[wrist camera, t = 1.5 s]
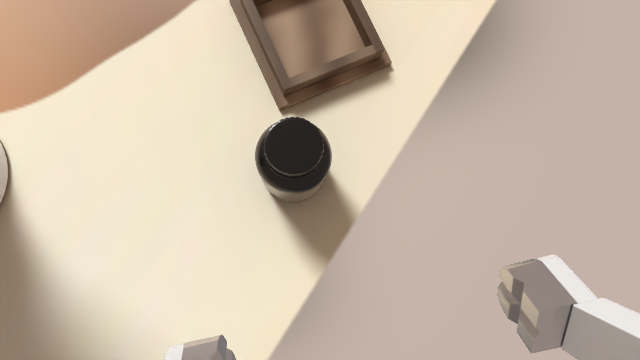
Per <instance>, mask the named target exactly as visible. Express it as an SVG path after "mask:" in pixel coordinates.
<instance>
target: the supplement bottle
mask: <svg viewBox="0 0 640 360" xmlns="http://www.w3.org/2000/svg"><path fill="white" fill-rule="evenodd" d="M331 159H332V153H331V147H330V144H329V142H328V139H327V138H326V136H325V135H324V133H323V132H322V131H321V130H320V129H319V128H318V127H317V126H315V125H314V124H312V123H310V122H309V121H307V120H305V119H304V118H299V117H296V118H295V117H291V118H285V119H281V120H280V121H279V122H276V123H274V124H273V125H271V126H270V127H269V128H267V129H266V130H265V132H264V133H263V134H262V135H261V137H260V139H259V141H258V143H257V146H256V151H255V161H256V166H257V169H258V172H259V174H260V176H261V178H262V180H263V182H264V184H265V186H266V187H267V189H268V190H269V191H270V192H271V193H272V194H273V195H274V196H275V197H277V198H279V199H281V200H284V201H288V202H299V201H303V200H306V199H308V198H310V197H311V196H313V195H314V194H315V193H316V192H317V191H318V190H319V188H320V187H321V185H322V183H323V181H324V179H325V178H326V176H327V174H328V172H329V169H330V166H331Z"/></svg>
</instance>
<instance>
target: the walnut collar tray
mask: <svg viewBox="0 0 640 360" xmlns="http://www.w3.org/2000/svg"><path fill="white" fill-rule="evenodd" d="M230 4H231V6H232V8H233V10H234V12H235V15H236V17H237V19H238V21H239V23H240V26H241V28H242V30H243V32H244V34H245V36H246V39H247V41H248V43H249V45H250V47H251V50H252V52H253V54H254V56H255V58H256V60H257V63H258V65H259V67H260V69H261V71H262V74H263V76H264V78H265V80H266V82H267V84H268V87H269V89H270V91H271V93H272V95H273V97H274V100H275V102H276V104H277V106H278V108H279V110H282V109H284V108H287V107H289V106H292V105H294V104H297V103H299V102H301V101H304V100H306V99H309V98H311V97H314V96H316V95H319V94H321V93H323V92H326V91H328V90H331V89H333V88H336V87H338V86H340V85H343V84H345V83H348V82H350V81H353V80H355V79H358V78H360V77H362V76H365V75H367V74H370V73H372V72H375V71H377V70H380V69H382V68H384V67H387V66H389V65H390V64H391V63H392V62H391V60H390V58H389V56H388V54H387V52H386V50H385V48H384V46H383V44H382V42H381V40H380V38H379V36H378V34H377V32H376V30H375V28H374V26H373V24H372V22H371V20H370V18H369V16H368V14H367V12H366V10H365V8H364V6H363V4H362V2H361V0H230Z"/></svg>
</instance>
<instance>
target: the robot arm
mask: <svg viewBox="0 0 640 360" xmlns="http://www.w3.org/2000/svg"><path fill="white" fill-rule="evenodd" d="M7 179H8V164H7V159H6V155H5V152H4V149H3V147H2V145H1V143H0V203H1V201H2V198H3V196H4V193H5V190H6V186H7ZM499 277H500V278H501V280H502V282H501V284H500V285H499V286H498V298H499V302H500V305H501V307H502V309H503V311H504V313H505V314H506V316H507V318H508V319H510V320H511V321H513V322H515V323H517V324H518V328H517V333H518V334H519V336H520V338H521V339H522V341H523V342H524V344H525V345H526V347H527V348H528V350H529V351H530V353H535V352H540V351H545V350H549V349H554V348H559V347H562V349H563V350H565V351H566V352H568V353H569V354H570V355H572V356H573V357H575V358H576V359H578V360H640V314H639V313H637V312H634V311H632V310H630V309H628V308H626V307H623V306H621V305H619V304H616V303H614V302H612V301H610V300H608V299H606V298H600V299H598V298H597V297H596V296H595V295H594V294H593V293H592V292H591V291H590V290H589V289H588V287H587V286H586V285H585V284H583V282H582V281H581V280H580V279H579V278H578V277H577V276H576V275H575V274H574V273H573V272H572V271H571V270H570V268H569V267H568V266H567V265H566V264H565V263H564V262H563V261H562V260H561V259H560V258H559V257H558V256H556V255H549V256H545V257H541V258H537V259H531V260H527V261H523V262H519V263H515V264H511V265H508V266H504V267H502V268H501V269H500V271H499ZM226 347H227V341H226V339H225V338H224V336H223V335H220V336H215V337H211V338H206V339H201V340H197V341H192V342H187V343H183V344H179V345H174V346H170V347H169V348H168V350H167V351H166V353H165V357H164V360H236V359H235V355H234V354H233V352H232V350H229V349H227V348H226Z"/></svg>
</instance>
